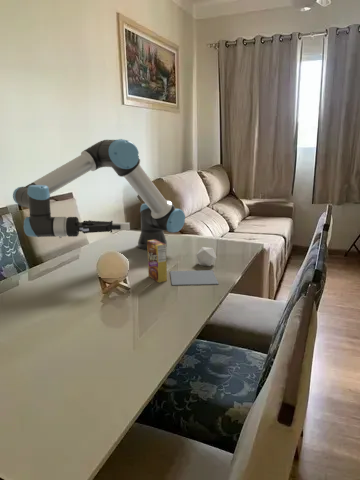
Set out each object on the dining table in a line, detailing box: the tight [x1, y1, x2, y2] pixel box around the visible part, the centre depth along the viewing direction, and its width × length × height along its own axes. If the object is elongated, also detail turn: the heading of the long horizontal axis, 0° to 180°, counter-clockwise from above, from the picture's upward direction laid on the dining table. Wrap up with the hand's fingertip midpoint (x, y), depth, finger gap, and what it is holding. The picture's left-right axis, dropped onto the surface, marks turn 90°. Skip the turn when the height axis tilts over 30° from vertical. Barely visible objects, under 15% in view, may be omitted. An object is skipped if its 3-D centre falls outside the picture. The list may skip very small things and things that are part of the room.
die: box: [195, 246, 217, 267], centre depth 172 cm, size 8×9×10 cm
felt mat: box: [169, 269, 219, 286], centre depth 156 cm, size 16×18×1 cm
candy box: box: [147, 239, 168, 283], centre depth 153 cm, size 9×4×15 cm, turn 31°
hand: (129, 226), depth 149 cm, fingers closed
